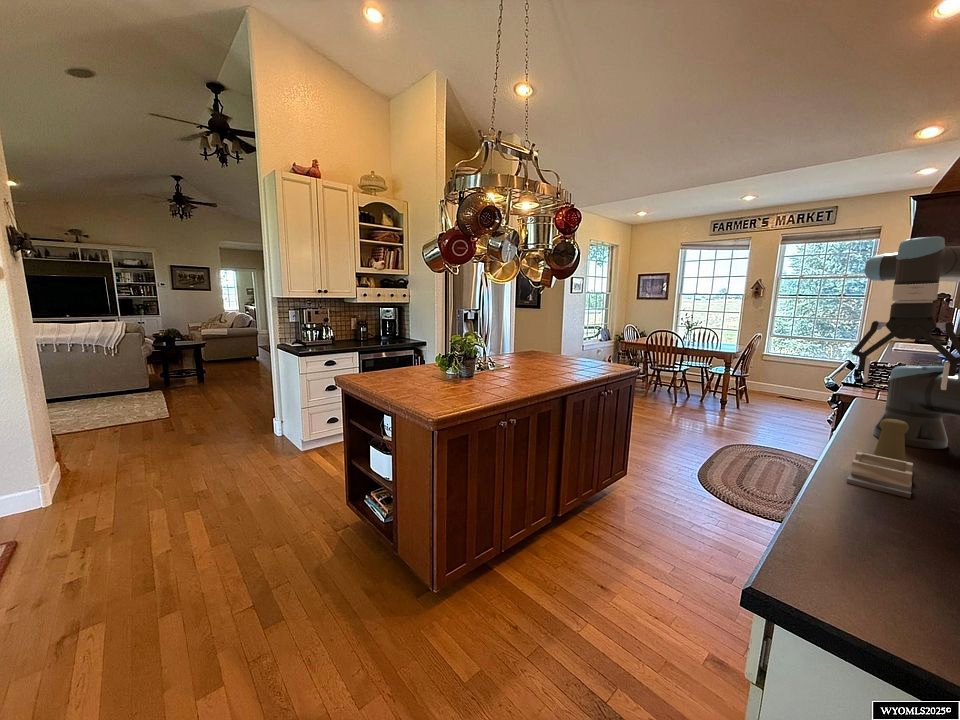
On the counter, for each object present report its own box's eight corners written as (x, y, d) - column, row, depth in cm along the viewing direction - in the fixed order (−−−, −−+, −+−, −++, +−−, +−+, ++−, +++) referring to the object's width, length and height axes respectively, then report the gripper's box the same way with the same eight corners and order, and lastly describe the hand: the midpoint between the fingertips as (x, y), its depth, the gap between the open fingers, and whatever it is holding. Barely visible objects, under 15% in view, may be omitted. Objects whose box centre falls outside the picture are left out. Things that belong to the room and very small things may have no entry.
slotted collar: (855, 461, 102) (857, 447, 102) (911, 474, 95) (914, 458, 94) (846, 482, 91) (849, 466, 90) (910, 498, 83) (913, 480, 83)
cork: (912, 464, 100) (919, 424, 99) (884, 463, 101) (890, 422, 100) (892, 456, 106) (898, 417, 105) (866, 454, 107) (872, 416, 106)
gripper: (843, 303, 103) (835, 381, 106) (998, 301, 85) (982, 395, 88) (846, 302, 108) (838, 377, 111) (993, 300, 90) (979, 389, 93)
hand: (902, 385), depth 100 cm, fingers open, 13 cm apart
